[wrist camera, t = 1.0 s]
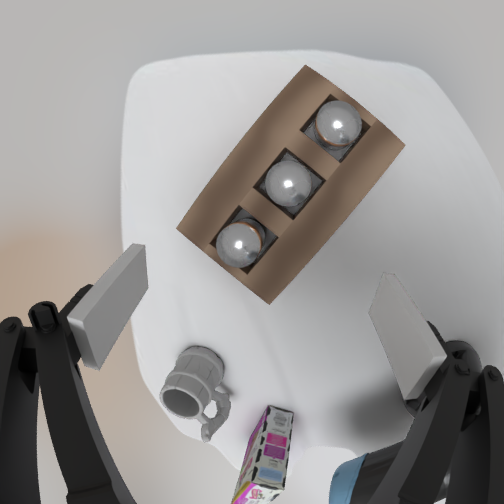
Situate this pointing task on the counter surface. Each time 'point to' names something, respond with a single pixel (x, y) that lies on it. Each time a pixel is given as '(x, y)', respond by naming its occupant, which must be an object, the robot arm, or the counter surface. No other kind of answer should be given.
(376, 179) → the wooden candle holder
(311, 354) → the counter surface
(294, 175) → the knob
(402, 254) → the counter surface
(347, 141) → the knob
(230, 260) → the knob
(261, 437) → the candy bar box
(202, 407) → the mug
